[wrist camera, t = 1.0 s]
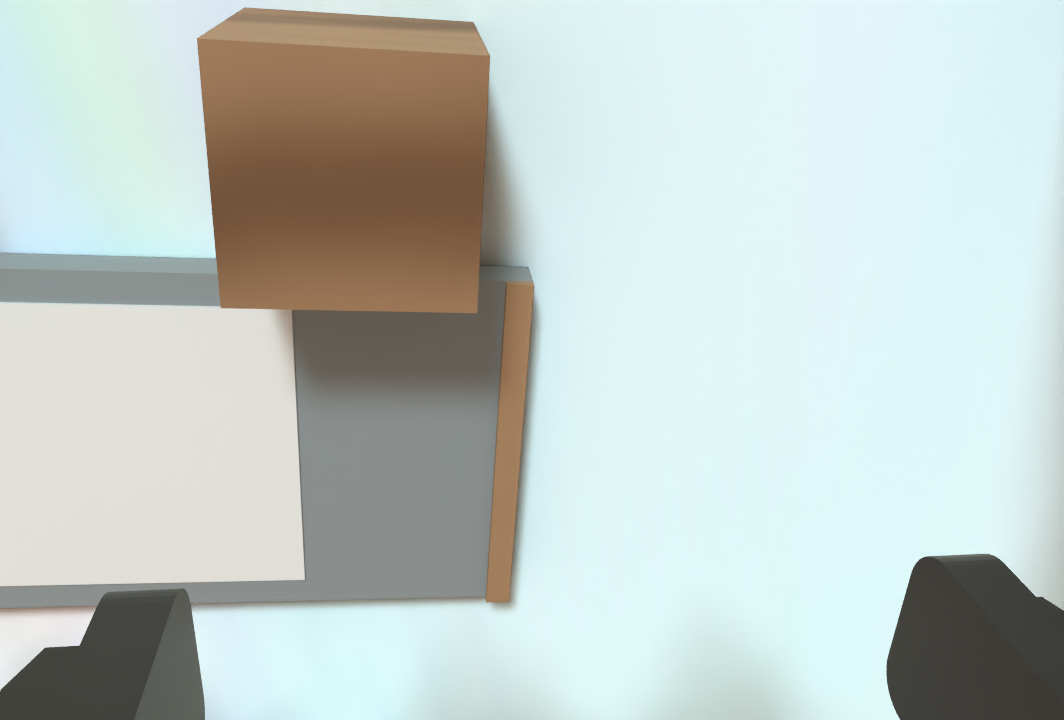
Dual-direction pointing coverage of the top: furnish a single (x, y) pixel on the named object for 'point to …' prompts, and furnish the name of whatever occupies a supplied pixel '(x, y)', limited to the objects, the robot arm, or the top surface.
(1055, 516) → the top surface
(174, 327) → the blueprint board
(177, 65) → the top surface
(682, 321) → the top surface
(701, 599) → the top surface
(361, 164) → the walnut block
